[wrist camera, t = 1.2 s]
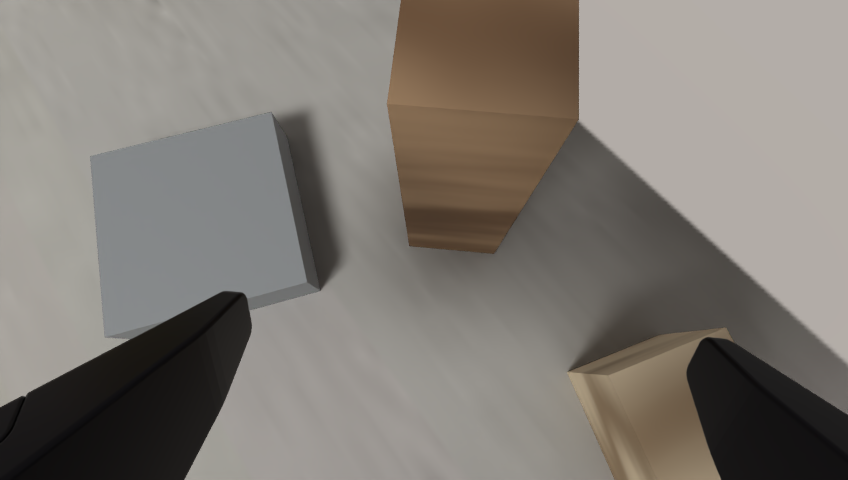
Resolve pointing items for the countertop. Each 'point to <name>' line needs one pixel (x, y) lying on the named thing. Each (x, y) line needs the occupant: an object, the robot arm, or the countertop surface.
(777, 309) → the countertop surface
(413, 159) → the walnut block
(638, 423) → the maple cube
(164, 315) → the grey base block
